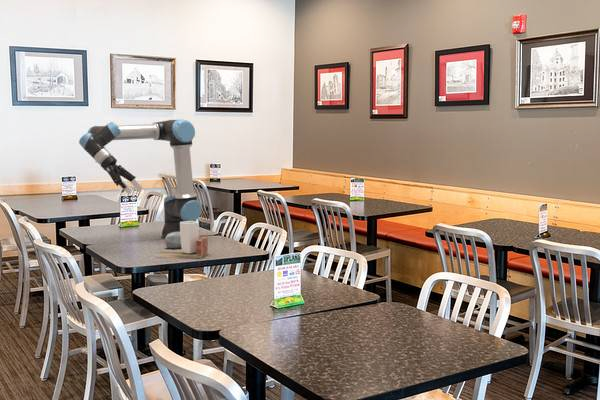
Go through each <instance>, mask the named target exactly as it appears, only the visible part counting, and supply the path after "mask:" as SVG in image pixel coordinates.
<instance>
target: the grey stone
mask: <svg viewBox="0 0 600 400" xmlns="http://www.w3.org/2000/svg"><path fill="white" fill-rule="evenodd" d="M164 244H165V246H166V248H168V249H182V247H181V239H180V232H172V233H169V234H168V235H167V236H166V238H164Z"/></svg>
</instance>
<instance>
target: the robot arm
mask: <svg viewBox="0 0 600 400" xmlns="http://www.w3.org/2000/svg"><path fill="white" fill-rule="evenodd" d="M195 136H196V130H195V127H194V124H192V123H191V122H190V121H189V120H186V119H182V118H181V119H168V120H163V121H154V122H152V123H150V124H149V123H148V124H122V125H120V124H119V125H118V124H117V123H115V122H113V121H110V122H109V123H107V124H105V125H94V126H91V127H89V129H88V130H87V133H84V134H83V135H82V136H81V137H80V138H79V140H78V144H79V145H80V147H82V148H83V150H84V151H85V152H87V154H88V155H89V156H90V157H92V159H93V160H94V161H95V163H97V164H98V165H100V167H101V168H102V169H103V170H104V171H106V172H107V174H108V175H109V177H110V178H111V180H112V182H113V183H114V184H115V185H116V186H117V187H118V186H119V187H120V188H121V189H123V190H124V191H123V192H125V193H126V194H127V195H130V194H132V193H133V191H134V190H133V188H132V187H130V186H129V184H127V183H126V182H125V180H127V181H128V182H130V184H131V185H132V186H133V187H134V188H135V189H136V190H137V191H138V192H139V193H141V192H142V191H143V190H144V187H143V185H141V183H139V182H138V181H137V180H136V178H137V176H135V175H133V174H132V173H131V172H129V171H128V170H126V168H125V167H123V166H122V165H121V164H119V165H118V164H117V162H118V160H117V159H116V158H115V156H114V155H112V153H111V152H110V151H109V150H108V149H106V146H107V145H108V144H109V143H111V142H113V141H126V140H127V141H128V140H148V139H153V141H166V142H169V145H170V148H172V151H173V158H174V169H175V170H174V171H175V181H176V191H177V194H176V195H171V196H170V195H169V196H165V197H164V199H163V213H164V215H163V216H164V217H163V219H164V224H163V228H162V230H161V238H162V239H165V238H166V236H167V235H168V234H169V233H172V232H180V222H184V221H197V220H198V219H199V217H200V216H201V215H202V212H203V211H202V210H203V208H202V204H201V203H200V202H199V200H198V195H197V194H196V193H195V191H194V180H193V169H192V162H191V161H192V159H191V147H192V146H193V139H194V137H195ZM122 178H124V179H125V180H123V179H122Z"/></svg>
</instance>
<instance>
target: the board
mask: <svg viewBox="0 0 600 400" xmlns="http://www.w3.org/2000/svg"><path fill="white" fill-rule="evenodd" d="M208 239H209V238H208V236H202V237H201V238H199V240H197V241H196V253H193V254H185V253H183V252H182V250H173V249H171V250H170V249H168V250H167V249H165V250H164V249H163V250H161V251H159V252H158V253H156V254H154V258H162V259H163V258H164V259H165V258H166V259H172V258H173V259H199V260H201V259H202V258H204V257H206V255H208V254H209V249H208V248H209V246H208V241H209V240H208Z"/></svg>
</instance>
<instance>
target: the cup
mask: <svg viewBox="0 0 600 400" xmlns="http://www.w3.org/2000/svg"><path fill="white" fill-rule="evenodd" d="M180 239H181V247H182V248H181V251H182V252H183V253H185V254H193V253H196V241H197V240H199V239H200V223H199V221H197V220H195V221H184V222H180Z"/></svg>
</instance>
